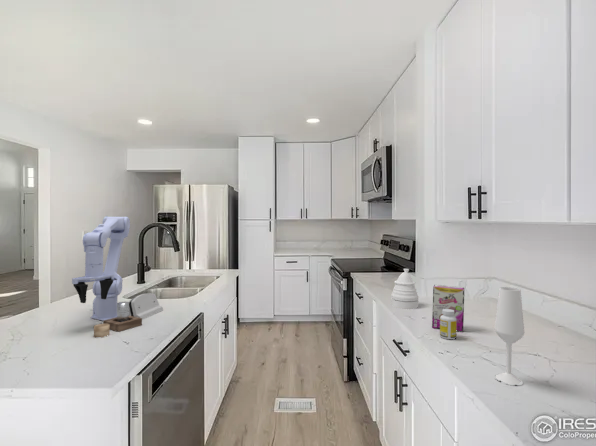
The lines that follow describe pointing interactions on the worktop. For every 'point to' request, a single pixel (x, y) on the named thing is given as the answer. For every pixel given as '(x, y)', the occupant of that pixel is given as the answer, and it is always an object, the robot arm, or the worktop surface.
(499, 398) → the worktop surface
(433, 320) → the candy bar box
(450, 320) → the supplement bottle
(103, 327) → the oak stub
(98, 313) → the robot arm
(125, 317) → the tall pin
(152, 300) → the hinge
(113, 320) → the socket block
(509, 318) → the champagne flute
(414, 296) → the honey pot
